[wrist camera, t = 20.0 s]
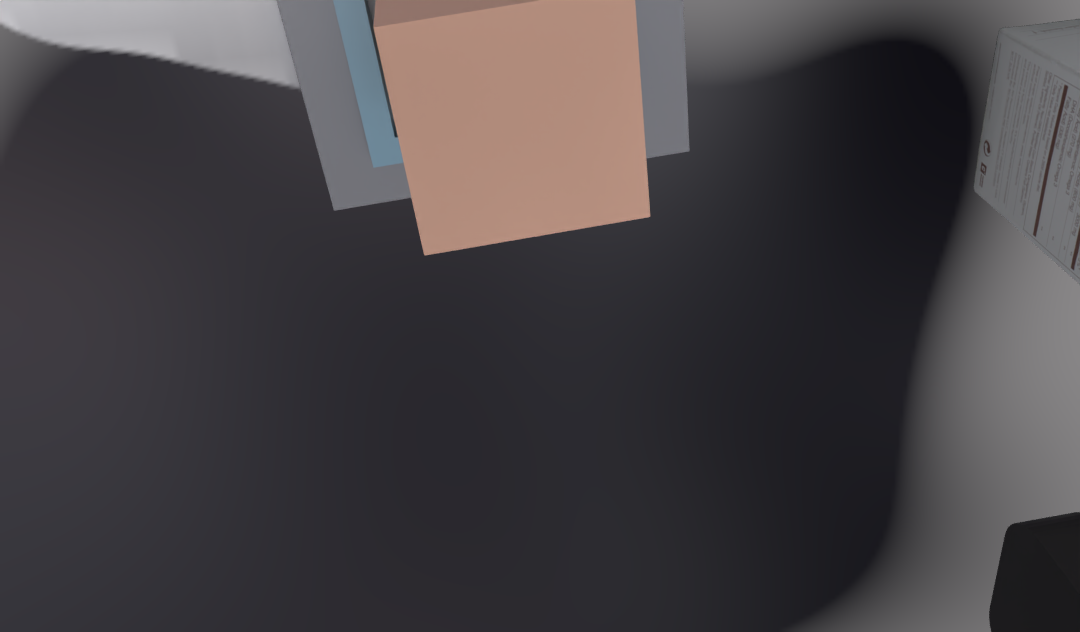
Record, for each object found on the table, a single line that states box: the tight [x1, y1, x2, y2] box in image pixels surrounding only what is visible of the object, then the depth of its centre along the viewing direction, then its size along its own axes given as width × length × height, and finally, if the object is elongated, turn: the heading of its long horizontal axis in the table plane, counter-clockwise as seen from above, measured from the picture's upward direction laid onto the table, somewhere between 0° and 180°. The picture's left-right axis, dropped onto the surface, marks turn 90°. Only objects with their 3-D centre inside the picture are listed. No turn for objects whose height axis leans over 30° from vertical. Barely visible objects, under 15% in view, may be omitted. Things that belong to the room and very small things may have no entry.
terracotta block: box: [373, 0, 650, 255], centre depth 26 cm, size 6×6×6 cm
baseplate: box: [277, 0, 689, 210], centre depth 33 cm, size 14×14×2 cm
